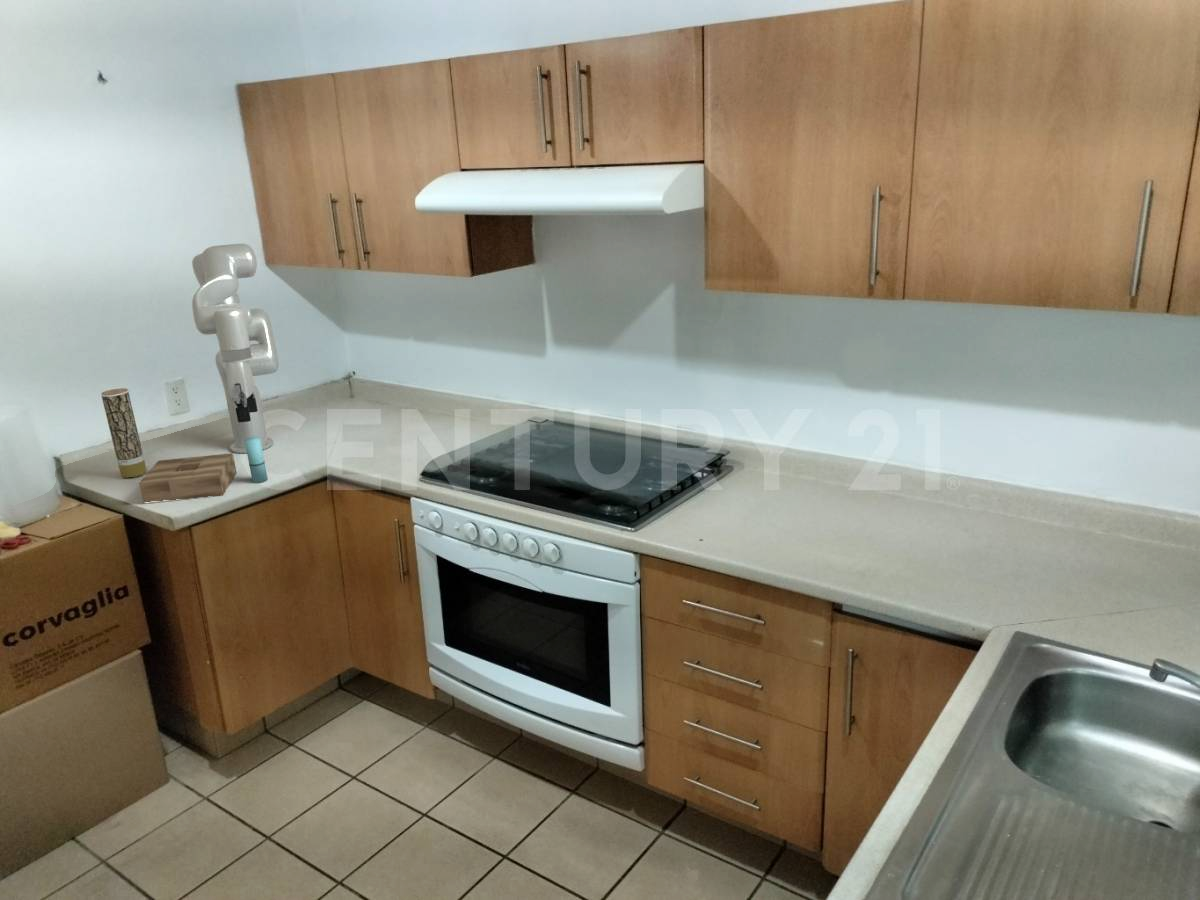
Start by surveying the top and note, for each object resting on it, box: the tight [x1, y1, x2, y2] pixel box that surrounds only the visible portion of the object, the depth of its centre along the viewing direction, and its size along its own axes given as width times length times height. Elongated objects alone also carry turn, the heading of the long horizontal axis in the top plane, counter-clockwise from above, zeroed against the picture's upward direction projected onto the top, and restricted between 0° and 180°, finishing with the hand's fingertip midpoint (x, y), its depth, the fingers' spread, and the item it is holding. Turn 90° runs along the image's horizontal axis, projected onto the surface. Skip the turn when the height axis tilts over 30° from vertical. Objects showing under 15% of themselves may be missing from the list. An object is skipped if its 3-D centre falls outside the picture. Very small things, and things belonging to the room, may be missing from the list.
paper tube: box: [101, 388, 147, 479], centre depth 257 cm, size 7×7×25 cm
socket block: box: [138, 452, 238, 503], centre depth 247 cm, size 18×20×6 cm
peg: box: [245, 437, 269, 484], centre depth 249 cm, size 4×4×12 cm
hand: (248, 416), depth 245 cm, fingers open, 9 cm apart
